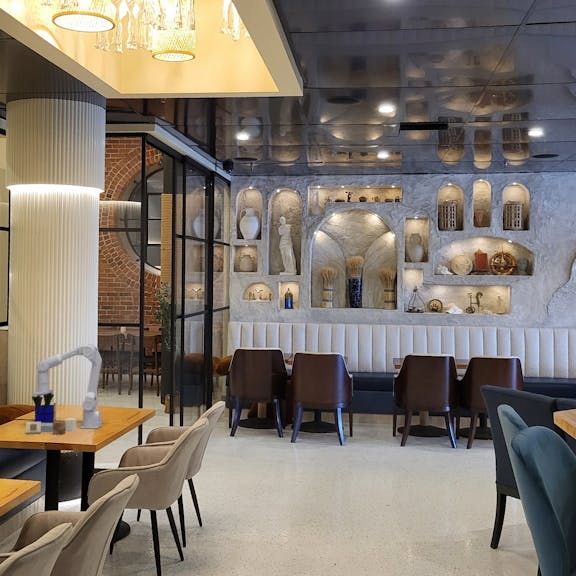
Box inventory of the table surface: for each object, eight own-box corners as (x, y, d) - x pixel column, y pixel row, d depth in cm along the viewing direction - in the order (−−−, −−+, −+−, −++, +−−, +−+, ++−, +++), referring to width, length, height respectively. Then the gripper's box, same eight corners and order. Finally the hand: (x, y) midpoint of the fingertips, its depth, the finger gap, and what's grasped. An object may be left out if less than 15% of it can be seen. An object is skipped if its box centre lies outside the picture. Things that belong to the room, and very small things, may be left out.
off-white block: (76, 429, 389) (76, 418, 389) (72, 431, 384) (73, 419, 384) (67, 429, 389) (67, 418, 389) (63, 431, 385) (64, 419, 385)
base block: (57, 429, 390) (57, 423, 390) (50, 432, 381) (51, 426, 381) (41, 429, 390) (41, 422, 390) (34, 432, 382) (34, 425, 382)
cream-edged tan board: (40, 432, 380) (40, 421, 380) (40, 433, 376) (40, 422, 376) (26, 433, 377) (26, 421, 378) (25, 434, 374) (26, 422, 374)
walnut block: (65, 433, 379) (65, 421, 379) (61, 435, 374) (62, 423, 374) (56, 433, 379) (56, 421, 380) (52, 434, 375) (52, 422, 375)
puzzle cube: (34, 423, 406) (34, 405, 406) (37, 420, 416) (37, 402, 416) (53, 423, 408) (53, 404, 408) (55, 419, 418) (55, 402, 418)
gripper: (45, 381, 403) (44, 406, 402) (27, 384, 389) (27, 410, 389) (56, 381, 400) (56, 407, 400) (39, 384, 387) (38, 411, 386)
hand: (42, 408), depth 394 cm, fingers open, 7 cm apart
